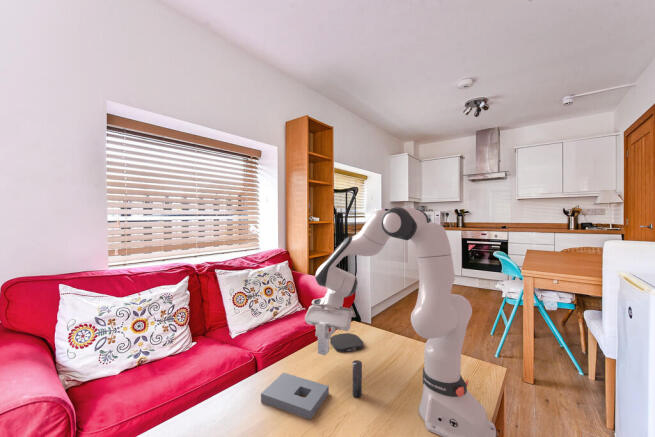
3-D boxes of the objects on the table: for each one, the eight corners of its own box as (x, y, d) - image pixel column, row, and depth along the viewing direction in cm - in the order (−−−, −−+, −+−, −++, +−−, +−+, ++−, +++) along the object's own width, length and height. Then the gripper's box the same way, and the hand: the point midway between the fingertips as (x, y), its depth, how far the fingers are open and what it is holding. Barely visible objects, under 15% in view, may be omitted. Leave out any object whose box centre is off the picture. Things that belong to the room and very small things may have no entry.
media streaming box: (353, 336, 148) (353, 331, 148) (365, 349, 134) (365, 343, 134) (328, 340, 144) (328, 335, 143) (338, 354, 130) (338, 348, 130)
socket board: (328, 393, 101) (328, 385, 101) (310, 420, 89) (310, 410, 89) (283, 379, 110) (283, 372, 110) (260, 401, 97) (260, 393, 97)
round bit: (363, 394, 101) (363, 362, 100) (357, 399, 98) (357, 366, 98) (356, 390, 103) (356, 359, 103) (350, 394, 101) (350, 362, 100)
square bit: (329, 351, 114) (328, 322, 113) (325, 355, 111) (324, 325, 110) (321, 349, 115) (321, 321, 115) (318, 353, 112) (317, 324, 112)
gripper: (356, 312, 118) (348, 344, 110) (314, 306, 127) (304, 336, 118) (352, 305, 114) (343, 338, 105) (309, 299, 123) (298, 329, 114)
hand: (322, 337), depth 112 cm, fingers closed on square bit, 3 cm apart
